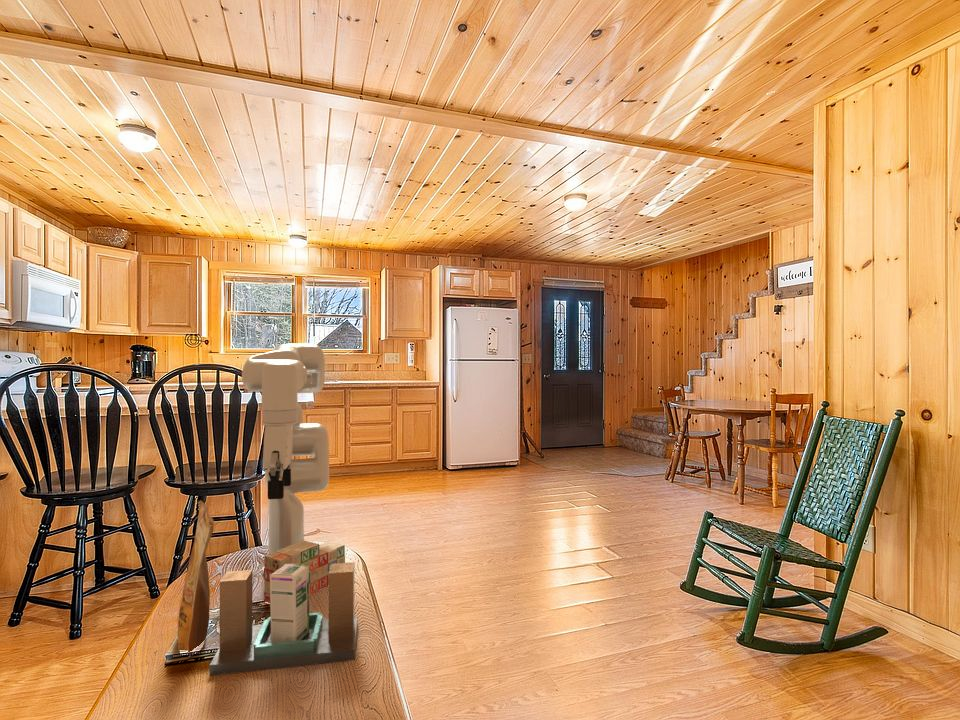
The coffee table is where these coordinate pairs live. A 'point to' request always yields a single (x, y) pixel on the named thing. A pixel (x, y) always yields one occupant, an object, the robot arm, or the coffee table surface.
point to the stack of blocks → (305, 562)
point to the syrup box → (289, 603)
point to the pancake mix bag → (196, 588)
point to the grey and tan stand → (252, 643)
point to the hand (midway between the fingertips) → (279, 491)
